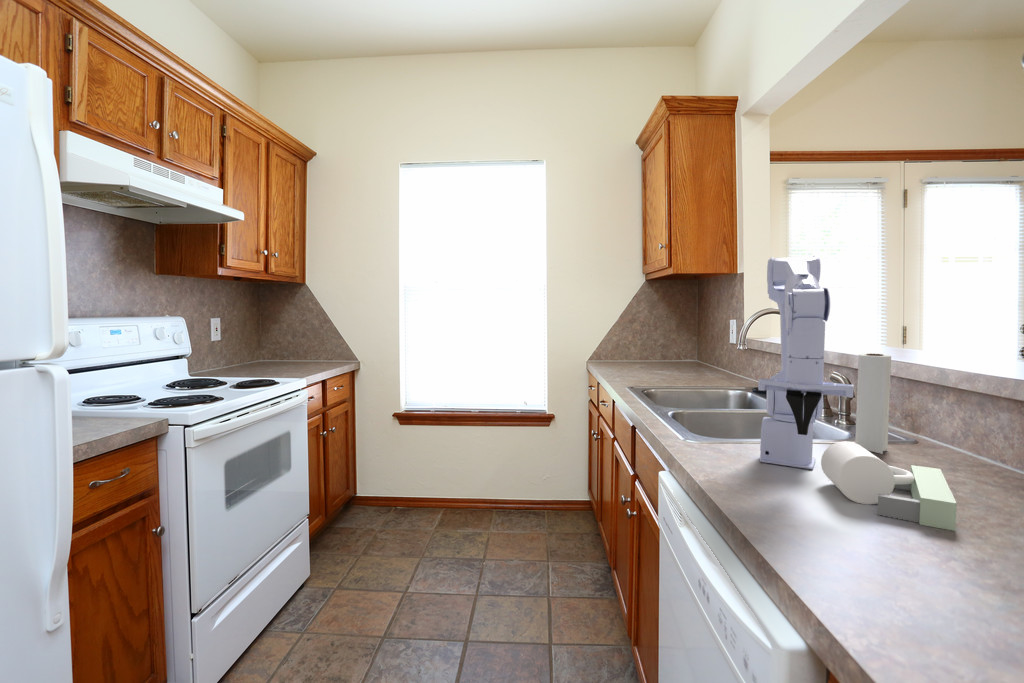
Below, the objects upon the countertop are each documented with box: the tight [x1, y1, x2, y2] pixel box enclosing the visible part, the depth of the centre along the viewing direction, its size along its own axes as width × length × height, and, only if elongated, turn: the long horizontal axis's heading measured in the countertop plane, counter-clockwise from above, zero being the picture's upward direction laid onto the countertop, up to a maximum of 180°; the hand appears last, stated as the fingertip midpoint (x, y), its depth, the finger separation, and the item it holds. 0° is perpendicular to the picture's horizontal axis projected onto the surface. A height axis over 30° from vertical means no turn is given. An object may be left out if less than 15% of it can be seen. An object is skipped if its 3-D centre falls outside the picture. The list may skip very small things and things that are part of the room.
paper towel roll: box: [854, 353, 892, 455], centre depth 115 cm, size 7×6×21 cm
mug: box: [820, 440, 915, 505], centre depth 87 cm, size 12×10×8 cm
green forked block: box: [877, 464, 958, 532], centre depth 83 cm, size 9×19×4 cm, turn 146°
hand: (802, 433), depth 92 cm, fingers closed
